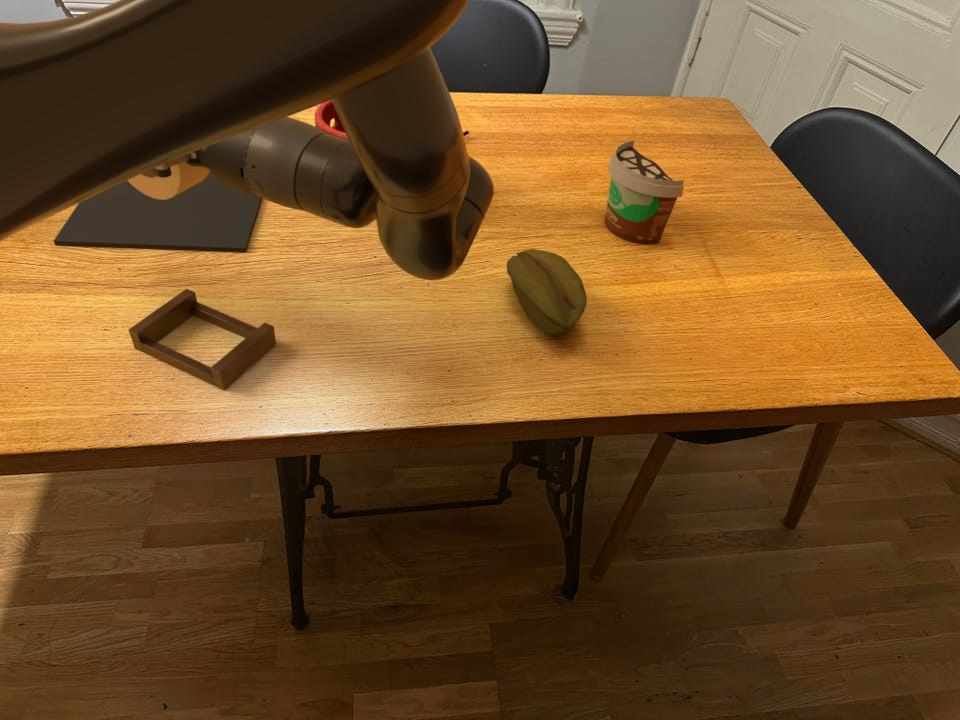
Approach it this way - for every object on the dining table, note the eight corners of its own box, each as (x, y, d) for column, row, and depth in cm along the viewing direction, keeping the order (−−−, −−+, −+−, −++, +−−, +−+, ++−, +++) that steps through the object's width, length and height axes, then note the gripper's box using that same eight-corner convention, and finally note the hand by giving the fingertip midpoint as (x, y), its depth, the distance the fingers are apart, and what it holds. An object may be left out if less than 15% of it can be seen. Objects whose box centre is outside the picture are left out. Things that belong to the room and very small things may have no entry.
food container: (579, 209, 99) (593, 143, 93) (615, 202, 102) (631, 138, 95) (627, 257, 92) (646, 189, 85) (665, 249, 94) (686, 182, 87)
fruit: (601, 302, 84) (613, 257, 79) (565, 360, 76) (576, 314, 71) (515, 271, 87) (522, 226, 82) (472, 324, 79) (477, 277, 74)
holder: (224, 390, 68) (220, 372, 66) (134, 347, 71) (128, 329, 69) (276, 343, 73) (274, 326, 72) (191, 306, 77) (186, 288, 75)
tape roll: (187, 213, 69) (168, 116, 62) (112, 181, 71) (85, 85, 65) (219, 195, 72) (203, 101, 65) (145, 165, 74) (123, 71, 68)
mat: (54, 245, 82) (53, 240, 82) (109, 163, 97) (107, 159, 96) (245, 252, 85) (245, 248, 84) (271, 171, 99) (270, 167, 99)
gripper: (322, 91, 64) (180, 47, 69) (213, 149, 55) (56, 93, 59) (327, 166, 69) (194, 120, 74) (228, 231, 60) (82, 173, 64)
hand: (133, 108), depth 67 cm, fingers closed on tape roll, 4 cm apart
